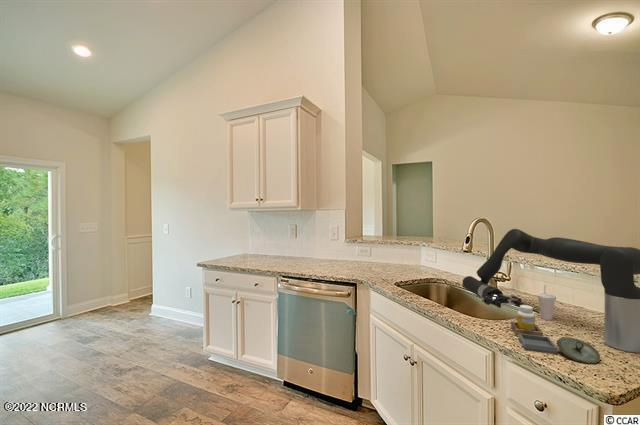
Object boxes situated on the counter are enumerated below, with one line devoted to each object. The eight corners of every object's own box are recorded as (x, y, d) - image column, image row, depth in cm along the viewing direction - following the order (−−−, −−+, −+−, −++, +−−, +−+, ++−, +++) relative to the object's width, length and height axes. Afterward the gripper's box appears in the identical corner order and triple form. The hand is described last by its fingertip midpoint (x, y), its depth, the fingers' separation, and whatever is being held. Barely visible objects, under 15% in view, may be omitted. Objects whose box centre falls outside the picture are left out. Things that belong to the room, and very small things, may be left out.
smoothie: (538, 314, 130) (538, 282, 130) (557, 318, 125) (557, 285, 125) (535, 318, 125) (535, 285, 125) (554, 322, 121) (554, 288, 121)
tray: (548, 342, 103) (548, 337, 103) (557, 354, 95) (557, 348, 95) (518, 338, 106) (518, 333, 106) (524, 349, 98) (524, 343, 98)
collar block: (536, 329, 114) (536, 324, 114) (542, 338, 106) (542, 332, 106) (511, 326, 117) (511, 321, 117) (515, 334, 110) (515, 329, 110)
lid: (585, 350, 98) (585, 334, 98) (609, 365, 88) (609, 348, 88) (549, 348, 99) (549, 333, 99) (570, 363, 89) (570, 346, 89)
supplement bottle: (518, 328, 116) (518, 303, 116) (535, 331, 112) (535, 306, 112) (516, 332, 111) (516, 307, 111) (534, 336, 108) (534, 310, 108)
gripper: (474, 286, 138) (493, 296, 122) (505, 286, 137) (528, 296, 121) (474, 302, 138) (493, 314, 122) (505, 302, 137) (529, 314, 121)
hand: (510, 305), depth 121 cm, fingers open, 8 cm apart
